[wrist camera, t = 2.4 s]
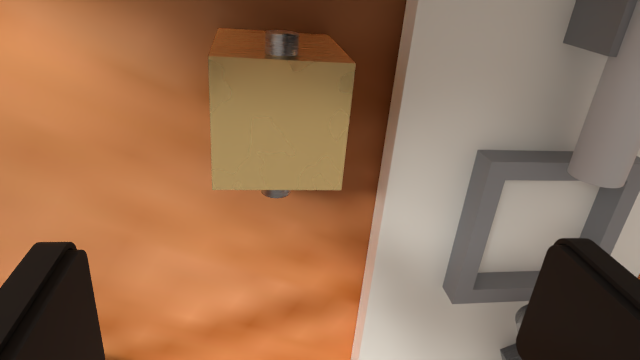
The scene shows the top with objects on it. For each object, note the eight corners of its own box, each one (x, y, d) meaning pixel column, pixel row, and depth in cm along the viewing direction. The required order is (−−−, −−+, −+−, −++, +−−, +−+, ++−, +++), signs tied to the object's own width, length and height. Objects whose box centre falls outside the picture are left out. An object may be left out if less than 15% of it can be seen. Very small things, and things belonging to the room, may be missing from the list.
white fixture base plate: (419, -82, 19) (480, -93, 14) (765, -45, 22) (917, -43, 17) (347, 379, 32) (366, 460, 27) (573, 363, 35) (628, 433, 30)
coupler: (217, 11, 20) (207, 34, 14) (329, 18, 21) (358, 42, 15) (220, 145, 23) (212, 205, 17) (318, 147, 23) (339, 205, 18)
